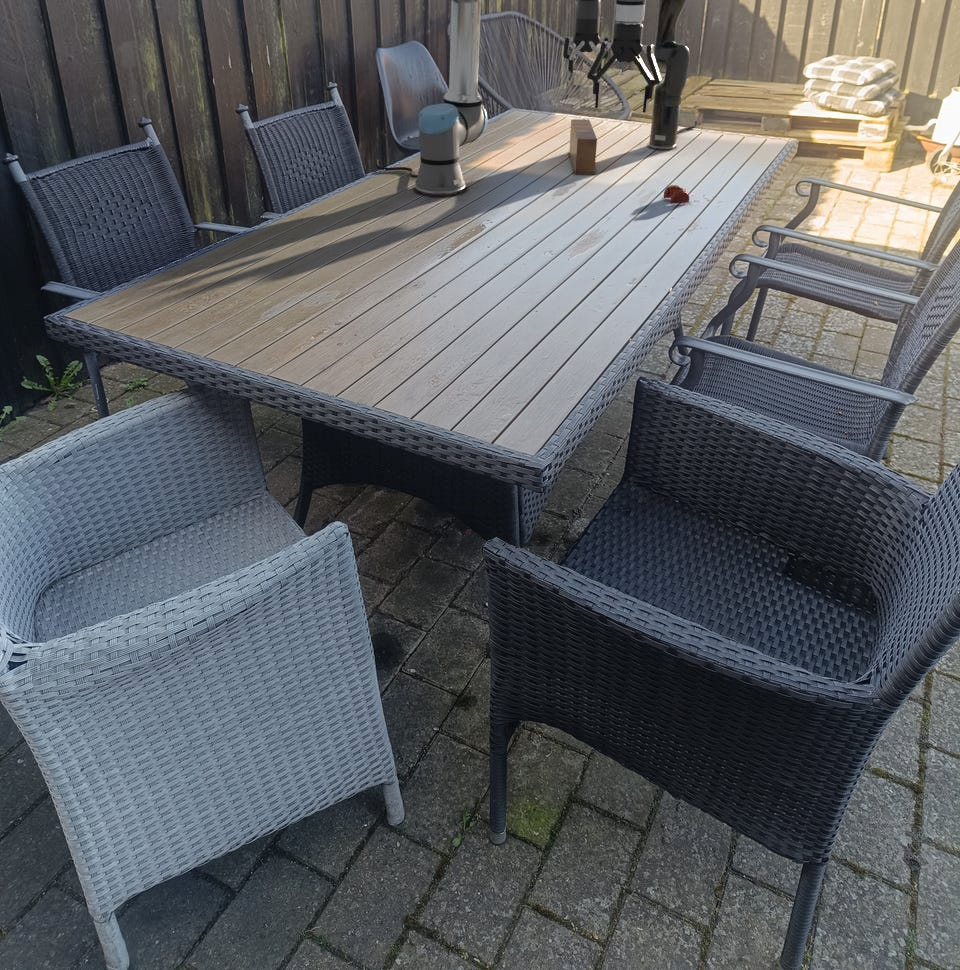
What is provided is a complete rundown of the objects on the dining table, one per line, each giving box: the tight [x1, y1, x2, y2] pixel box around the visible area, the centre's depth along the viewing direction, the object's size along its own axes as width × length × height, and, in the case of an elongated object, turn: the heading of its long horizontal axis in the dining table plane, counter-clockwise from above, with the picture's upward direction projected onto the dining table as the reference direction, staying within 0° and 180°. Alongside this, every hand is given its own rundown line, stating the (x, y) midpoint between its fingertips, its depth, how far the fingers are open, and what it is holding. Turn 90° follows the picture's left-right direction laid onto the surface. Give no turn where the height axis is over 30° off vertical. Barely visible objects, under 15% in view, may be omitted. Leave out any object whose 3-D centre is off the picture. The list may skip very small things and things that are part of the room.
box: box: [568, 118, 598, 175], centre depth 280 cm, size 27×6×11 cm, turn 179°
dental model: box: [663, 184, 690, 205], centre depth 248 cm, size 6×4×8 cm
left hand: (621, 109), depth 233 cm, fingers open, 13 cm apart
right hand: (584, 72), depth 275 cm, fingers open, 8 cm apart
